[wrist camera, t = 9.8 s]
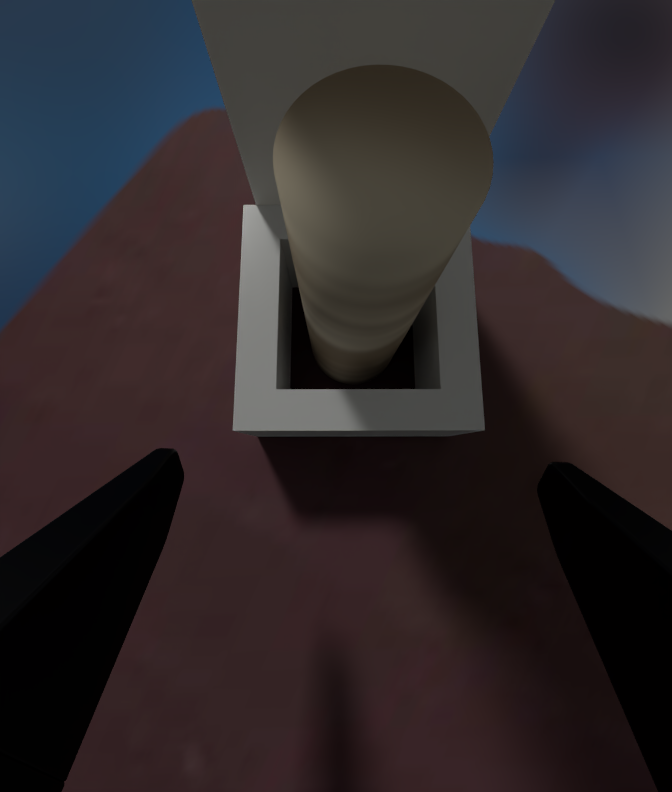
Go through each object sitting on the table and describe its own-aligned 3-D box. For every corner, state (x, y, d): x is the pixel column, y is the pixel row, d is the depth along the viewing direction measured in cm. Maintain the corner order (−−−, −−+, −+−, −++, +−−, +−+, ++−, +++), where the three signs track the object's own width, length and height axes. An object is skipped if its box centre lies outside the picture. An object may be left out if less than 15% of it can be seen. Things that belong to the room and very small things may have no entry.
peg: (385, 392, 17) (476, 277, 6) (303, 375, 17) (248, 232, 6) (400, 315, 17) (506, 85, 7) (321, 299, 18) (300, 48, 7)
